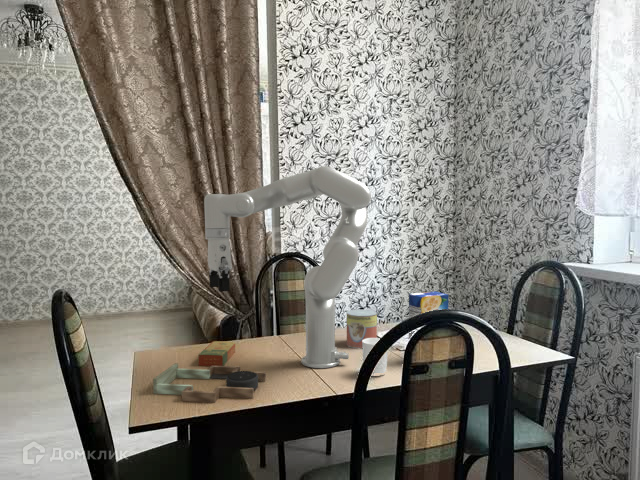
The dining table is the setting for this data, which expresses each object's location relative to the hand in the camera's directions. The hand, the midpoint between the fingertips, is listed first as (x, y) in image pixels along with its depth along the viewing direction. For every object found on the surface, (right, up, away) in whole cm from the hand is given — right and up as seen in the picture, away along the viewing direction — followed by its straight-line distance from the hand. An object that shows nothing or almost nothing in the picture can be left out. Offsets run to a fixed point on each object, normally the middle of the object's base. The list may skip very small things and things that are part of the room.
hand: (219, 289), depth 156 cm
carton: (-3, -25, +13) cm, 29 cm away
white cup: (+48, -26, -3) cm, 55 cm away
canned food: (+47, -24, +30) cm, 60 cm away
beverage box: (+67, -25, +11) cm, 73 cm away
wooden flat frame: (+1, -26, -14) cm, 30 cm away
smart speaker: (+9, -27, -15) cm, 32 cm away
